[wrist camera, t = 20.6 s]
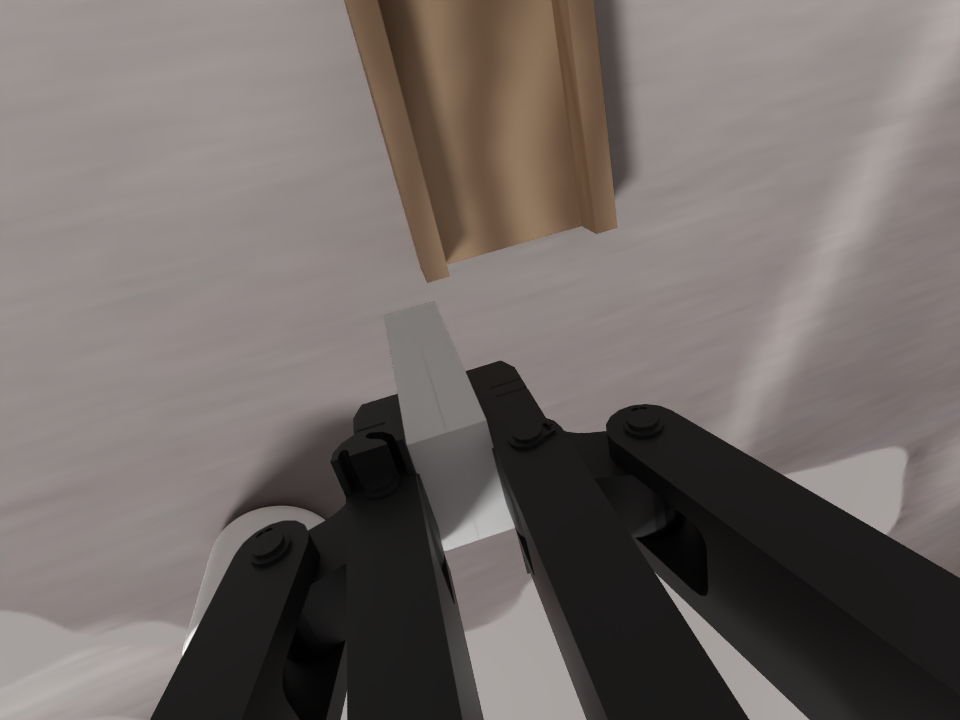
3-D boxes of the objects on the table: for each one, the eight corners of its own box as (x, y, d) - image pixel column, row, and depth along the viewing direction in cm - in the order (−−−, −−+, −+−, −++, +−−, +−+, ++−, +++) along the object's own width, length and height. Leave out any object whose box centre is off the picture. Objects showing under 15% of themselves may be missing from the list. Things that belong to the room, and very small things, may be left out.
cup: (330, 486, 44) (326, 584, 35) (351, 576, 49) (352, 682, 40) (198, 511, 43) (159, 620, 34) (232, 602, 47) (206, 718, 38)
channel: (420, 267, 38) (443, 319, 29) (281, -221, 26) (249, -377, 18) (596, 217, 39) (668, 252, 31) (536, -272, 28) (626, -442, 19)
